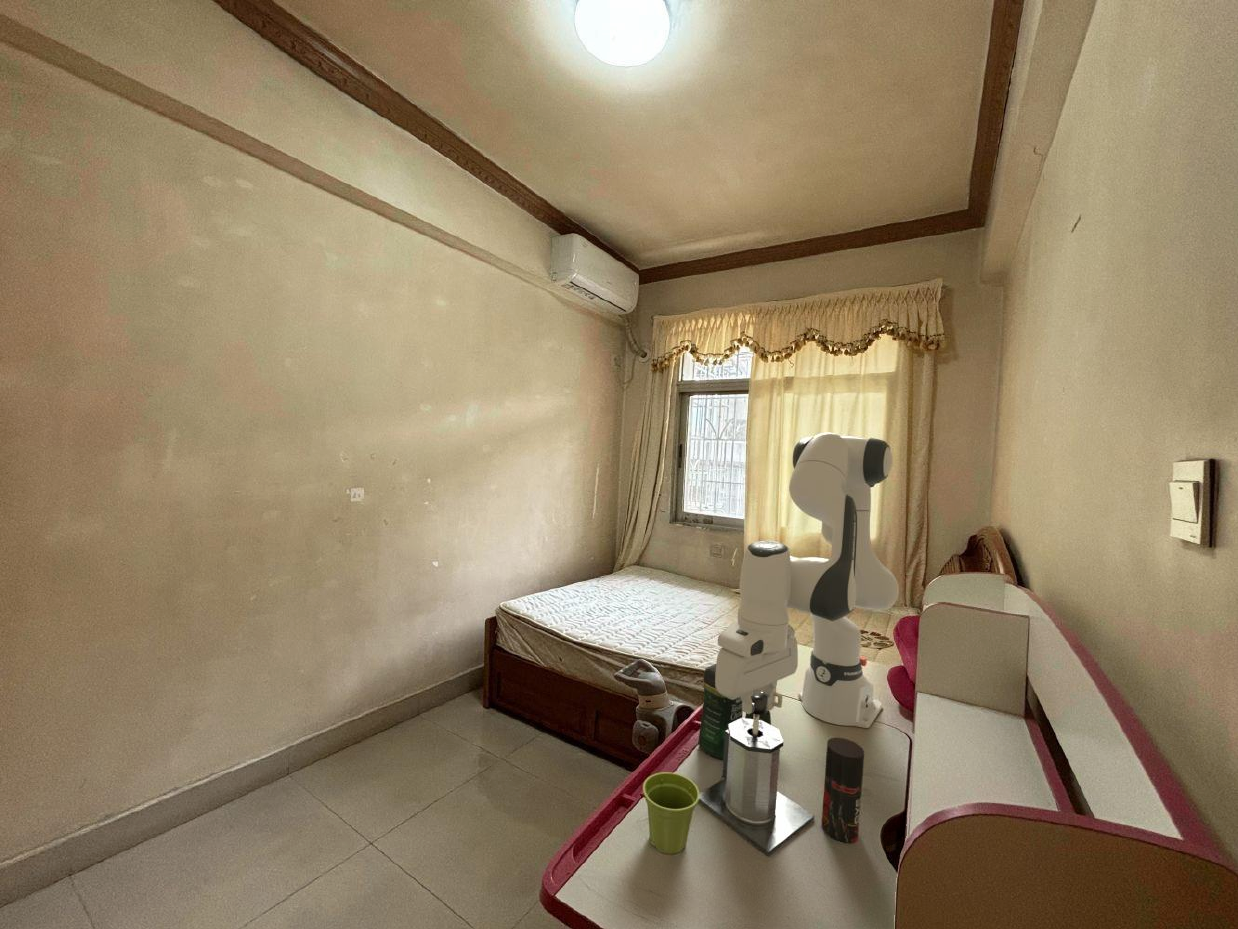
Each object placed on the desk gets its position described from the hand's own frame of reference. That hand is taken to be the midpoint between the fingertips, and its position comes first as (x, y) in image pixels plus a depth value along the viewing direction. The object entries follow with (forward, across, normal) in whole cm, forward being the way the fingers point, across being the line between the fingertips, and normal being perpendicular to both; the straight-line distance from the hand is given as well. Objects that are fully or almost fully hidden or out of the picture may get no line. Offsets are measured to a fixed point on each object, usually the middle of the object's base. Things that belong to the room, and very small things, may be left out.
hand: (756, 707), depth 91 cm
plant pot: (+20, +17, -4) cm, 26 cm away
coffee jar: (+20, -11, -16) cm, 28 cm away
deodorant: (+20, -10, +12) cm, 25 cm away
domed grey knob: (+12, 0, 0) cm, 12 cm away
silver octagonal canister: (+19, 0, 0) cm, 19 cm away
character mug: (+20, -23, -15) cm, 34 cm away
